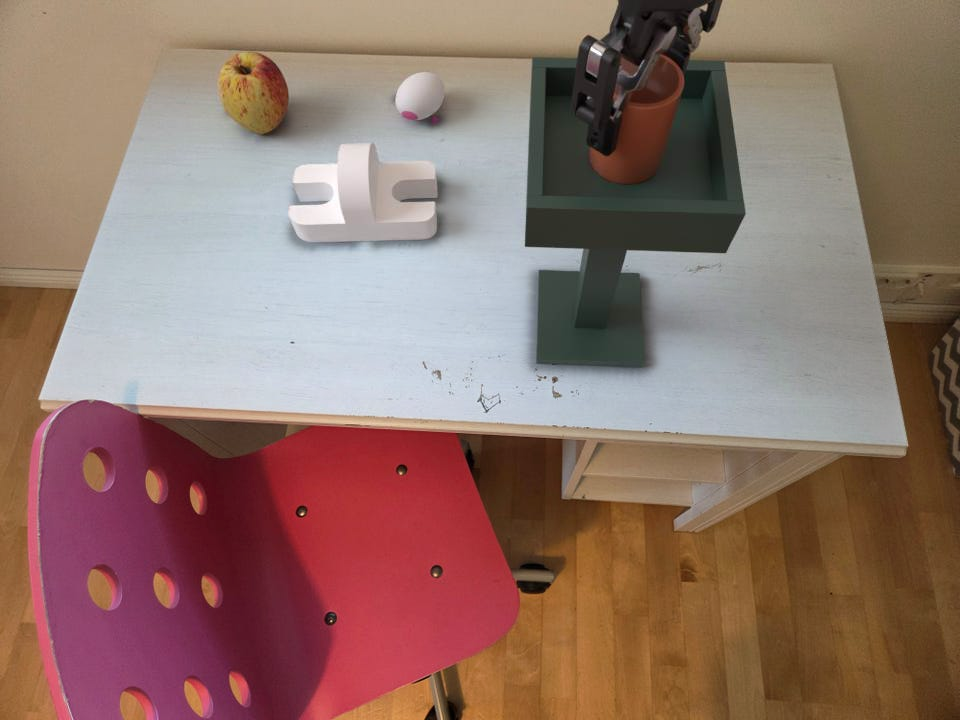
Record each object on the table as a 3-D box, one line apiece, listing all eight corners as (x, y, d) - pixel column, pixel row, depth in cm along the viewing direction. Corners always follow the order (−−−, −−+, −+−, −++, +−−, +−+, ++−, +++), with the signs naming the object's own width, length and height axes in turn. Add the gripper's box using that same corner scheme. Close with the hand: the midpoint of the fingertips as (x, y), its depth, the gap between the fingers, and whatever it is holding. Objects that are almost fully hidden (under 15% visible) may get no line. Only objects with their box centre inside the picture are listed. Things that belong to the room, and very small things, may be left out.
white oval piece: (431, 109, 101) (409, 66, 98) (464, 105, 95) (442, 59, 92) (395, 138, 99) (371, 95, 95) (427, 135, 93) (402, 89, 89)
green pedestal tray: (653, 265, 84) (724, 60, 57) (661, 384, 77) (746, 213, 50) (522, 260, 85) (532, 56, 58) (517, 378, 78) (526, 207, 51)
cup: (643, 122, 59) (663, 41, 52) (673, 173, 56) (699, 95, 49) (577, 139, 58) (588, 59, 51) (604, 192, 55) (620, 116, 48)
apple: (307, 131, 96) (287, 72, 87) (246, 155, 94) (219, 98, 85) (283, 90, 100) (262, 29, 91) (224, 113, 98) (196, 53, 89)
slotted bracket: (294, 243, 87) (271, 191, 79) (302, 183, 92) (281, 128, 83) (436, 238, 87) (429, 186, 78) (437, 179, 91) (431, 123, 82)
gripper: (663, -11, 35) (616, 198, 50) (810, -136, 40) (727, 90, 54) (550, -70, 38) (536, 146, 52) (700, -180, 42) (649, 47, 57)
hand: (633, 117), depth 53 cm, fingers open, 8 cm apart
